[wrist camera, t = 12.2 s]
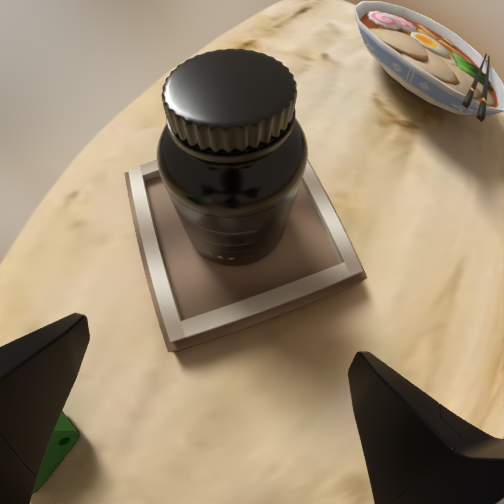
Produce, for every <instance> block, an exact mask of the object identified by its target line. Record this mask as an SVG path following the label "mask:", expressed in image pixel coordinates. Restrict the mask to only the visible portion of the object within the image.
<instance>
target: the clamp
mask: <svg viewBox="0 0 504 504" xmlns="http://www.w3.org/2000/svg"><path fill="white" fill-rule="evenodd" d="M78 437H79V433H78V432H77V431H76V429H75V428H74V427H73V425H72V424H71V422H70V421H69V419H68V418H67V417H66V415H65V414H64V412H63V411H62V412H61V414H60V417H59V419H58V422H57V424H56V427H55V429H54V432H53V434H52V437H51V439H50V442H49V445H48V447H47V450H46V453H45V456H44V459H43V461H42V464H41V467H40V470H39V473H38V476H37V478H36V479H37V480H36V483H35V486H34V490H33V493H32V494H34V493H35V492H37V491H38V490H39V489H40V488H41V486H42V485H43V484H44V482H45V481H46V480H47V478H48V477H49V476H50V475H51V473H52V472H53V471H54V469H55V468H56V467H57V465H58V464H59V463H60V462H61V460H62V459H63V458H64V456H65V455H66V454H67V453H68V451H69V450H70V449H71V447H72V446H73V445H74V444H75V442H76V441H77V440H78Z"/></svg>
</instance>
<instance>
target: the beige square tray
mask: <svg viewBox="0 0 504 504" xmlns="http://www.w3.org/2000/svg"><path fill="white" fill-rule="evenodd" d="M125 178H126V184H127V190H128V196H129V201H130V207H131V212H132V217H133V222H134V227H135V232H136V236H137V241H138V245H139V250H140V254H141V258H142V262H143V266H144V270H145V274H146V278H147V282H148V286H149V290H150V293H151V297H152V301H153V304H154V308H155V311H156V314H157V318H158V321H159V324H160V328H161V331H162V334H163V337H164V340H165V343H166V347H167V350H168V352H176V351H179V350H182V349H185V348H189V347H192V346H195V345H198V344H201V343H204V342H207V341H210V340H213V339H216V338H219V337H222V336H225V335H228V334H231V333H234V332H237V331H239V330H242V329H245V328H248V327H251V326H253V325H256V324H259V323H262V322H264V321H267V320H270V319H272V318H275V317H278V316H280V315H283V314H286V313H288V312H291V311H293V310H296V309H298V308H301V307H303V306H306V305H308V304H311V303H313V302H316V301H318V300H321V299H323V298H326V297H328V296H330V295H333V294H335V293H338V292H340V291H342V290H345V289H347V288H349V287H352V286H354V285H356V284H358V283H360V282H362V281H363V280H365V279H367V276H366V274H365V271H364V269H363V267H362V265H361V262H360V260H359V258H358V256H357V254H356V252H355V249H354V247H353V245H352V243H351V241H350V239H349V237H348V235H347V233H346V231H345V229H344V227H343V225H342V223H341V221H340V219H339V217H338V215H337V213H336V211H335V209H334V207H333V205H332V203H331V201H330V199H329V197H328V195H327V193H326V191H325V190H324V188H323V186H322V184H321V182H320V180H319V178H318V177H317V175H316V173H315V171H314V169H313V168H312V166H311V164H310V162H309V161H308V159H307V163H306V168H305V172H304V175H303V178H302V181H301V184H300V187H299V191H298V194H297V197H296V200H295V203H294V206H293V209H292V212H291V215H290V218H289V221H288V224H287V227H286V230H285V232H284V235H283V237H282V239H281V241H280V243H279V244H278V245H277V247H276V248H275V249H274V250H273V251H272V252H271V253H270V254H269V255H268V256H266V257H265V258H263V259H262V260H260V261H258V262H256V263H253V264H250V265H245V266H225V265H220V264H217V263H215V262H212V261H210V260H209V259H207V258H205V257H204V256H203V255H202V254H200V253H199V252H198V251H197V250H196V248H195V247H194V246H193V244H192V243H191V241H190V239H189V238H188V236H187V234H186V232H185V229H184V227H183V225H182V223H181V221H180V219H179V217H178V214H177V212H176V210H175V208H174V206H173V203H172V201H171V199H170V197H169V195H168V192H167V190H166V188H165V186H164V183H163V181H162V178H161V176H160V173H159V169H158V165H157V160H155V161H152V162H149V163H146V164H143V165H141V166H138V167H135V168H132V169H130V170H128V172H126V173H125Z"/></svg>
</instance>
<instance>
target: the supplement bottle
mask: <svg viewBox="0 0 504 504" xmlns="http://www.w3.org/2000/svg"><path fill="white" fill-rule="evenodd" d="M296 86H297V85H296V82H295V80H294V76H293V74H292V73H290V72H289V69H288V68H287V67H285V66H284V65H283V64H282V62H280V61H277V60H275V59H274V58H273V57H270V56H267V55H265V54H264V53H258V52H255V51H252V50H244V49H226V50H216V51H211V52H206V53H204V54H201V55H197V56H195V57H193V58H191V59H188V60H186V61H185V62H184V63H182V64H180V65H178V66H177V68H176V69H175V70H173V71H172V72H171V73H170V76H169V77H167V78H166V83H165V84H164V86H163V93H162V101H163V105H164V110H165V113H166V122H167V124H166V126H165V127H164V129H163V131H162V133H161V136H160V139H159V142H158V147H157V165H158V169H159V173H160V176H161V178H162V181H163V183H164V186H165V188H166V190H167V192H168V195H169V197H170V199H171V201H172V203H173V206H174V208H175V210H176V212H177V214H178V217H179V219H180V221H181V223H182V225H183V227H184V229H185V232H186V234H187V236H188V238H189V239H190V241H191V243H192V244H193V246H194V247H195V248H196V250H197V251H198V252H199V253H200V254H202V255H203V256H204V257H205V258H207V259H209V260H210V261H212V262H215V263H217V264H220V265H225V266H245V265H250V264H253V263H256V262H258V261H260V260H262V259H263V258H265V257H266V256H268V255H269V254H270V253H271V252H272V251H273V250H274V249H275V248H276V247H277V245H278V244H279V243H280V241H281V239H282V237H283V235H284V232H285V230H286V227H287V224H288V221H289V218H290V215H291V212H292V209H293V206H294V203H295V200H296V197H297V194H298V191H299V187H300V184H301V181H302V178H303V175H304V172H305V168H306V163H307V157H308V148H307V141H306V137H305V134H304V132H303V129H302V127H301V126H300V124H299V122H298V121H297V119H296V118H295V103H296V98H297V90H296Z"/></svg>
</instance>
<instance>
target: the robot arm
mask: <svg viewBox="0 0 504 504" xmlns="http://www.w3.org/2000/svg"><path fill="white" fill-rule="evenodd" d="M89 340H90V334H89V327H88V321H87V317H86V316H85V315H82V314H79V313H73V314H71V315H69V316H67V317H64V318H62V319H60V320H58V321H56V322H53V323H51V324H49V325H47V326H45V327H43V328H40V329H38V330H36V331H34V332H32V333H29V334H27V335H25V336H23V337H21V338H19V339H16V340H14V341H12V342H10V343H8V344H6V345H4V346H1V347H0V504H29V503H30V500H31V496H32V493H33V490H34V486H35V483H36V480H37V479H36V478H37V476H38V473H39V470H40V467H41V464H42V461H43V459H44V456H45V453H46V450H47V447H48V445H49V442H50V439H51V437H52V434H53V432H54V429H55V427H56V424H57V422H58V419H59V417H60V414H61V412H62V410H63V407H64V405H65V403H66V400H67V398H68V396H69V394H70V391H71V389H72V387H73V385H74V383H75V380H76V378H77V375H78V372H79V369H80V366H81V363H82V360H83V358H84V355H85V352H86V349H87V346H88V344H89ZM348 378H349V385H350V392H351V398H352V406H353V411H354V416H355V420H356V424H357V428H358V432H359V436H360V440H361V444H362V448H363V452H364V456H365V461H366V465H367V470H368V474H369V479H370V483H371V488H372V493H373V498H374V502H375V504H504V439H499V438H495V437H492V436H490V435H489V434H487V433H485V432H483V431H482V430H480V429H478V428H477V427H475V426H473V425H472V424H470V423H468V422H467V421H465V420H463V419H462V418H460V417H459V416H457V415H456V414H454V413H453V412H451V411H450V410H448V409H447V408H445V407H444V406H443V405H441V404H439V403H438V402H437V401H436V400H434V399H433V398H432V397H430V396H429V395H427V394H426V393H425V392H423V391H422V390H421V389H419V388H418V387H416V386H415V385H414V384H412V383H411V382H410V381H408V380H407V379H405V378H404V377H403V376H401V375H400V374H399V373H397V372H396V371H394V370H393V369H392V368H390V367H389V366H388V365H386V364H385V363H384V362H382V361H381V360H380V359H378V358H377V357H375V356H374V355H373V354H371V353H370V352H366V351H359V352H357V353H356V355H355V357H354V359H353V361H352V363H351V365H350V368H349V370H348Z"/></svg>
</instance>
